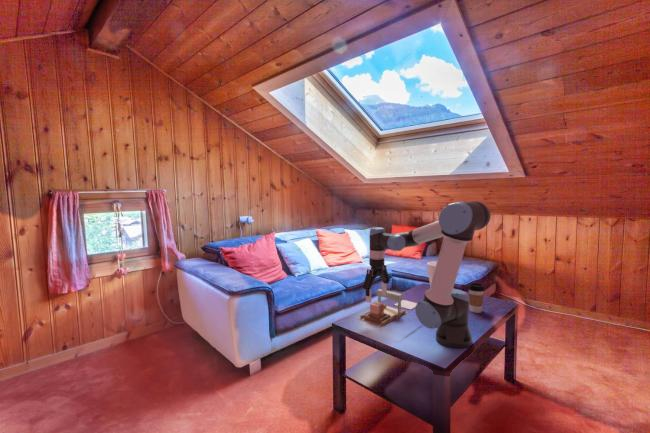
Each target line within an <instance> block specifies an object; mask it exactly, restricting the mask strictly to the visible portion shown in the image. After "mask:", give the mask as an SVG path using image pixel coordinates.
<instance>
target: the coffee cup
mask: <svg viewBox="0 0 650 433" xmlns="http://www.w3.org/2000/svg"><path fill="white" fill-rule="evenodd" d="M467 289H468V298H469V311H470V312H472V313H475V314H480V313H482V312H483V311H482V310H483V302H484V297H485V294H484V293H485V286H484V285H483V284H481V283H475V282H474V283H472V282H471V283H469V284H468V286H467Z"/></svg>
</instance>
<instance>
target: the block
mask: <svg viewBox="0 0 650 433" xmlns="http://www.w3.org/2000/svg"><path fill="white" fill-rule="evenodd" d="M369 309H370V310H369V311H370V317H373V318H376V319H381V318H383V317H384V303H382V302H381V303H379V302H378V301H374V302H371V303H369Z"/></svg>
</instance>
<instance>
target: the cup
mask: <svg viewBox="0 0 650 433" xmlns="http://www.w3.org/2000/svg"><path fill="white" fill-rule="evenodd" d="M436 264H437V261H433V260H432V261H428V262H427V263H426V267H427V275H428V281H429V286H430V287H431V283H432V279H433V275H434V272H435V268H436ZM430 287H429V288H430Z"/></svg>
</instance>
